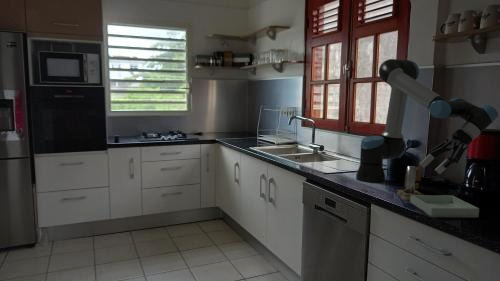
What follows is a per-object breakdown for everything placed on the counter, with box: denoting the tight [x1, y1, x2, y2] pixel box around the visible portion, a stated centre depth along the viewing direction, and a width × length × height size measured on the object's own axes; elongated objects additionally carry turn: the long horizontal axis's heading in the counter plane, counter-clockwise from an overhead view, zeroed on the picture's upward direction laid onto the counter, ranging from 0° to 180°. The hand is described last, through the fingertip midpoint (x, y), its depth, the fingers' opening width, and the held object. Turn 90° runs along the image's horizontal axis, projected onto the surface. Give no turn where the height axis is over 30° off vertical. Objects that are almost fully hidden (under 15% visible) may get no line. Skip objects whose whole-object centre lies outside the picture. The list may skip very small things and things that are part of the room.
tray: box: [409, 194, 480, 218], centre depth 146 cm, size 18×18×4 cm
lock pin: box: [406, 165, 417, 194], centre depth 162 cm, size 4×4×14 cm
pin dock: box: [396, 189, 424, 201], centre depth 162 cm, size 8×8×3 cm
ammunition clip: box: [402, 165, 422, 191], centre depth 175 cm, size 11×2×12 cm, turn 119°
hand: (429, 168), depth 160 cm, fingers open, 13 cm apart
